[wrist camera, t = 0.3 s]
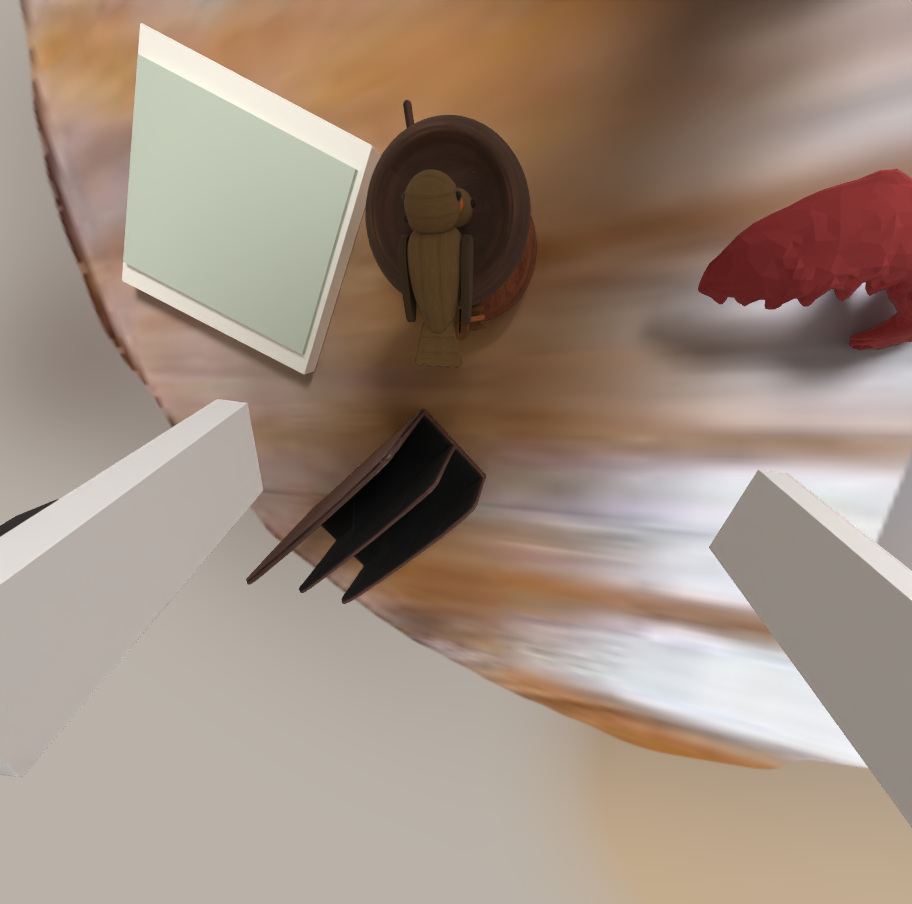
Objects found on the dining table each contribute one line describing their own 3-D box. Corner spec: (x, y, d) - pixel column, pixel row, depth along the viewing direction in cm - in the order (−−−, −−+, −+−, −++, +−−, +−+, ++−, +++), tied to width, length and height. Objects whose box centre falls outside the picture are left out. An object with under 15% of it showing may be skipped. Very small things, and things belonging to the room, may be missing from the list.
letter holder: (312, 508, 46) (229, 588, 33) (424, 405, 39) (373, 457, 26) (370, 563, 48) (312, 660, 35) (487, 474, 40) (470, 555, 27)
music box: (558, 317, 33) (555, 347, 15) (444, 350, 37) (337, 406, 19) (517, 113, 29) (445, -180, 11) (392, 175, 32) (184, 32, 14)
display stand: (163, 39, 31) (134, 18, 28) (381, 154, 31) (369, 143, 29) (141, 281, 39) (117, 280, 36) (314, 371, 39) (301, 375, 37)
